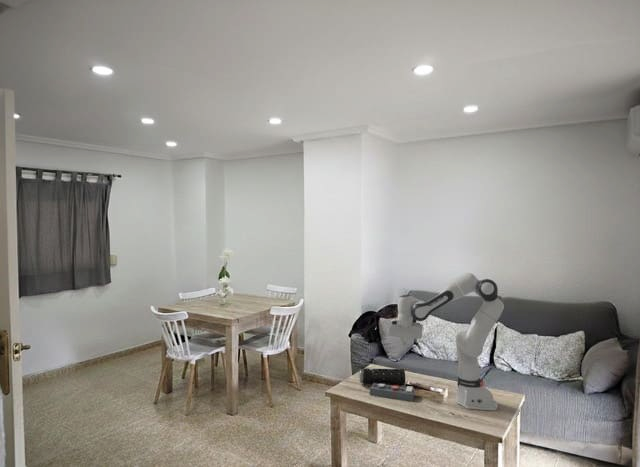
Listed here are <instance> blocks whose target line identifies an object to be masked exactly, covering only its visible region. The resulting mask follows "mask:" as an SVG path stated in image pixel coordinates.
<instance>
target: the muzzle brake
mask: <svg viewBox="0 0 640 467" xmlns="http://www.w3.org/2000/svg"><path fill="white" fill-rule="evenodd" d="M358 377H359V383H360V384H362V385H369V386H372V385H373V383H377V384H385V385H391V386H393V385H395V386H404V385H405V384H406V371H405V369H404V368H372V369H371V368H369V367H368V368H366V367H365V368H364V367H363V368H362V369H361V368H360V369H359V376H358Z"/></svg>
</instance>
